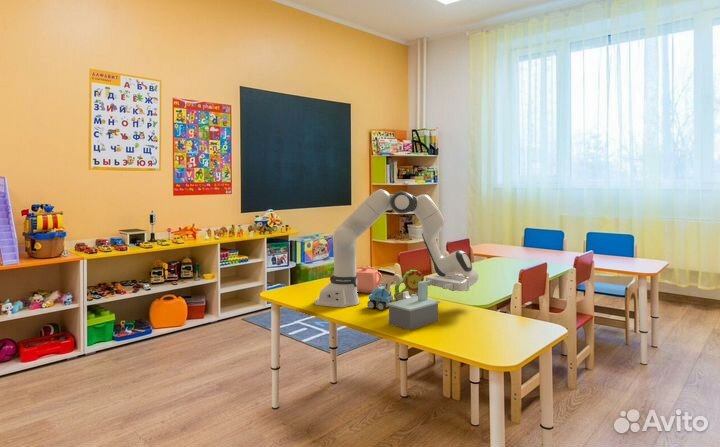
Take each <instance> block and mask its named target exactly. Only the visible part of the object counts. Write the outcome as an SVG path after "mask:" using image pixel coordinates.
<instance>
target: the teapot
mask: <svg viewBox="0 0 720 447" xmlns="http://www.w3.org/2000/svg"><path fill="white" fill-rule="evenodd" d="M356 275H357V292H359V293H365V294H372V292H373V290H374V289H376V288H378V287H381V286H382V284H381V283H380V282H381V280H382V278H383V275H382V273H381V272H380V271H378V269H375V268H371V265H367V266H361V268H356Z"/></svg>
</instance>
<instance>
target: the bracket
mask: <svg viewBox="0 0 720 447" xmlns="http://www.w3.org/2000/svg"><path fill="white" fill-rule="evenodd" d="M415 296H417V294H412V295H411V296H409V292H408V291H407V292H403V299H407V298H411V297H415ZM428 299H432V300H434V299H433V298H430V297H428Z"/></svg>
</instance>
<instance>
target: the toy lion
mask: <svg viewBox="0 0 720 447" xmlns="http://www.w3.org/2000/svg"><path fill="white" fill-rule="evenodd" d="M402 279H403V281H402V283H401V284H404V285H405V286H404V288H403V289H402V290H401V291H400V288H399V287H400V286H401V284H399V285H397V283H395V285H394V294H393V299H395V300H396V301H399V300H403V292H407V291H408V292H409V296H410V297H411V295H412V294H417V296H418V282H421V281H425V276H424V275H423V273H422V272H420V271H418V270H416V269H410V270H409V271H406V272H405V273H404V275H403V276H402Z"/></svg>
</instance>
